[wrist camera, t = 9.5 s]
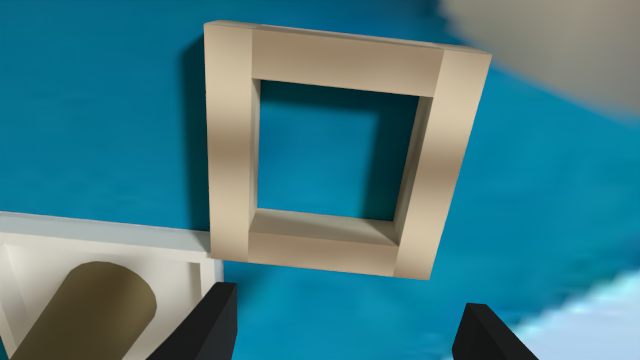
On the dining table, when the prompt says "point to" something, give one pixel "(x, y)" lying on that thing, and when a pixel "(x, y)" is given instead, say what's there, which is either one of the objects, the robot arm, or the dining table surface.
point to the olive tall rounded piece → (91, 316)
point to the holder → (346, 72)
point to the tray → (105, 246)
